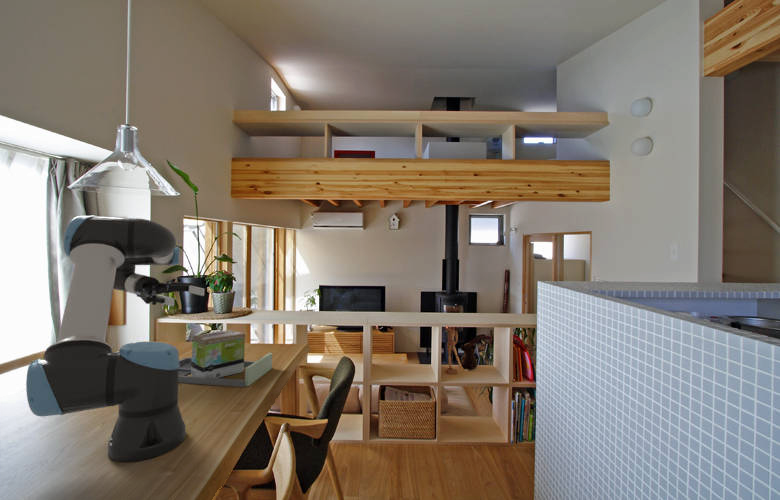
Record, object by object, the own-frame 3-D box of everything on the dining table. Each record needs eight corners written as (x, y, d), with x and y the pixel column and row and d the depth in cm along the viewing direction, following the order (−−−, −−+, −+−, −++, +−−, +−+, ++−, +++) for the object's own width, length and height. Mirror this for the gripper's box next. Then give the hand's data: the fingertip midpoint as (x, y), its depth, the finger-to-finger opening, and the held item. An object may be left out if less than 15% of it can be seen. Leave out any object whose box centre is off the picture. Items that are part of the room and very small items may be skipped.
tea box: (203, 383, 121) (204, 340, 121) (190, 376, 127) (191, 335, 127) (244, 371, 133) (245, 332, 133) (230, 366, 139) (231, 328, 139)
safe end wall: (248, 386, 120) (248, 368, 120) (244, 385, 120) (245, 368, 120) (271, 368, 137) (272, 353, 137) (268, 368, 138) (269, 352, 138)
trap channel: (243, 387, 119) (243, 381, 119) (146, 380, 122) (146, 374, 122) (269, 367, 139) (270, 362, 139) (186, 362, 142) (186, 357, 142)
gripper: (171, 287, 146) (214, 297, 141) (109, 304, 123) (158, 318, 118) (171, 269, 145) (214, 279, 140) (109, 283, 121) (159, 296, 116)
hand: (189, 297), depth 129 cm, fingers open, 13 cm apart
